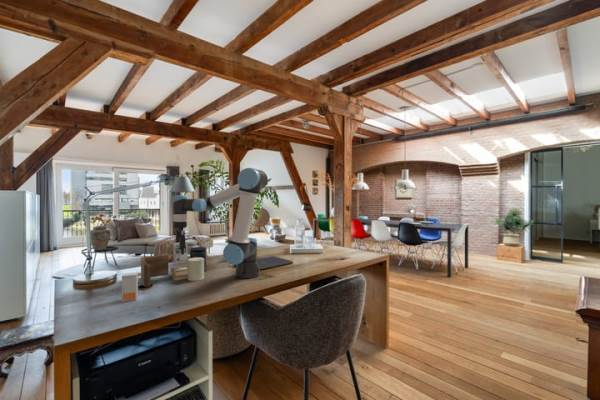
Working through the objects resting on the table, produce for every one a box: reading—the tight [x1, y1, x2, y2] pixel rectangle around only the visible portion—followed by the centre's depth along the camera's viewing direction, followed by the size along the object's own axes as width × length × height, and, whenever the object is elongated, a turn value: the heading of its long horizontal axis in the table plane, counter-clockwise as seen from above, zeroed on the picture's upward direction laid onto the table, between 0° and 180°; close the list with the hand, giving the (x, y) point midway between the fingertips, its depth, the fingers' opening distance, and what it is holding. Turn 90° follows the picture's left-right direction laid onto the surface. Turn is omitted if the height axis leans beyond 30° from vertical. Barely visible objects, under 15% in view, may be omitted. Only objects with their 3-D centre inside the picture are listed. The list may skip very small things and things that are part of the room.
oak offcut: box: [170, 272, 188, 281], centre depth 168 cm, size 10×8×3 cm
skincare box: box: [121, 272, 139, 303], centre depth 131 cm, size 6×4×12 cm
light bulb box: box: [172, 242, 189, 264], centre depth 168 cm, size 11×7×11 cm, turn 32°
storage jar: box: [189, 246, 207, 273], centre depth 180 cm, size 10×10×15 cm
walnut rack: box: [140, 254, 170, 288], centre depth 162 cm, size 22×15×12 cm
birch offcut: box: [170, 265, 188, 276], centre depth 168 cm, size 9×7×3 cm
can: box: [187, 257, 205, 282], centre depth 165 cm, size 9×9×12 cm
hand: (180, 258), depth 168 cm, fingers closed on light bulb box, 11 cm apart
